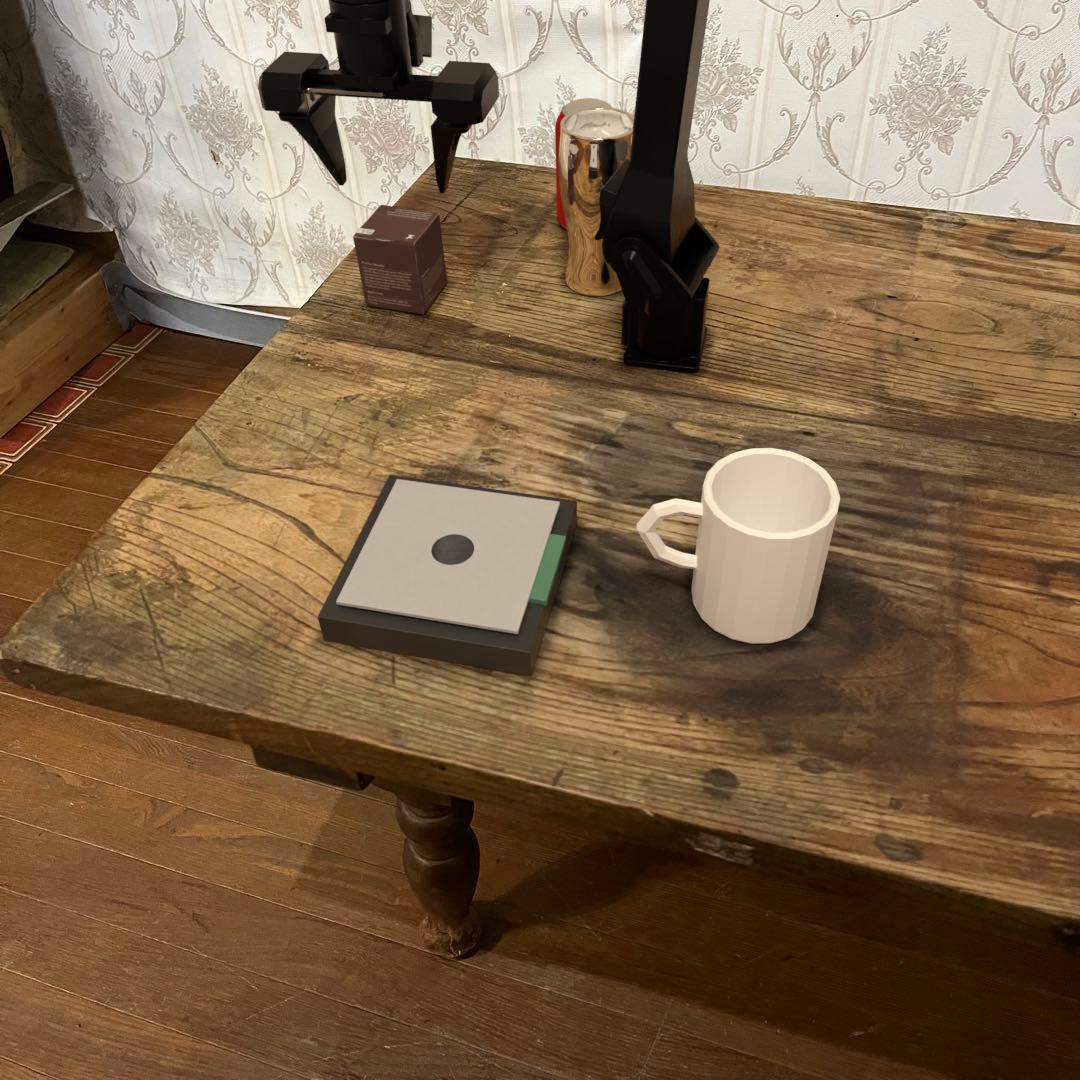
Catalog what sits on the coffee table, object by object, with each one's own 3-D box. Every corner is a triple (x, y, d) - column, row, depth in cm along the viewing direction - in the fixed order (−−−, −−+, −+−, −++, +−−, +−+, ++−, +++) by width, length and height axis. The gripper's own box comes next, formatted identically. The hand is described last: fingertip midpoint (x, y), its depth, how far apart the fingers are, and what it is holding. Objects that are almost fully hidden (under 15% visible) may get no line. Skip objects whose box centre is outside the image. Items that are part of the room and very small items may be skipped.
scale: (578, 524, 75) (578, 494, 72) (533, 676, 65) (531, 646, 63) (393, 498, 77) (388, 467, 75) (323, 640, 68) (315, 610, 66)
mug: (629, 556, 72) (634, 448, 65) (802, 554, 72) (826, 445, 65) (636, 646, 66) (642, 538, 60) (824, 644, 66) (852, 535, 59)
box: (449, 283, 98) (441, 211, 93) (423, 317, 94) (414, 244, 89) (391, 274, 100) (380, 203, 95) (363, 307, 96) (351, 234, 91)
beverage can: (618, 211, 107) (621, 94, 99) (616, 241, 103) (618, 121, 94) (559, 210, 108) (557, 93, 99) (554, 240, 103) (552, 121, 95)
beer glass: (628, 302, 95) (634, 142, 84) (554, 295, 96) (550, 137, 86) (638, 263, 100) (645, 107, 89) (567, 257, 101) (566, 103, 90)
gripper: (510, -37, 82) (519, 154, 93) (292, -45, 86) (326, 140, 97) (472, 12, 75) (487, 213, 86) (234, 0, 78) (278, 195, 89)
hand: (392, 187), depth 89 cm, fingers open, 9 cm apart
